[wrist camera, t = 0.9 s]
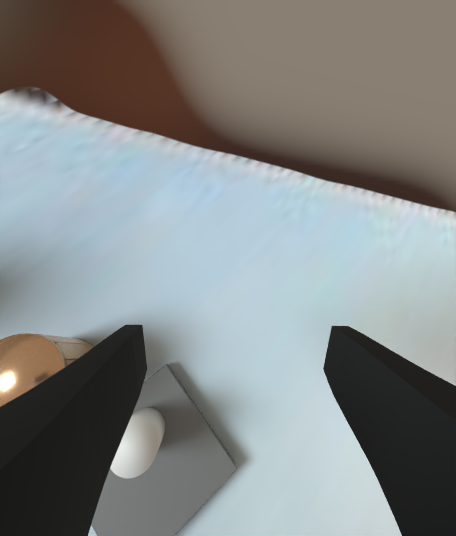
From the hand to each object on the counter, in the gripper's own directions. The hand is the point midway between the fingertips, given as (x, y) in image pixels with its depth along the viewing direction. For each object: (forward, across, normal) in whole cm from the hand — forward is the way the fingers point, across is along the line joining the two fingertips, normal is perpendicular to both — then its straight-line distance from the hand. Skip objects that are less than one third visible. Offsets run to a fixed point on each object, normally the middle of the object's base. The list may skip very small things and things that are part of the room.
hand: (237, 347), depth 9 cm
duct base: (+6, +6, +16) cm, 18 cm away
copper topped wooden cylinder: (+10, +14, +10) cm, 20 cm away
